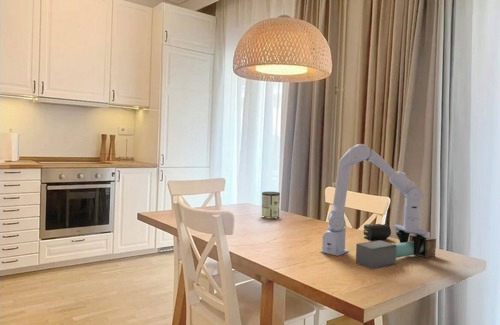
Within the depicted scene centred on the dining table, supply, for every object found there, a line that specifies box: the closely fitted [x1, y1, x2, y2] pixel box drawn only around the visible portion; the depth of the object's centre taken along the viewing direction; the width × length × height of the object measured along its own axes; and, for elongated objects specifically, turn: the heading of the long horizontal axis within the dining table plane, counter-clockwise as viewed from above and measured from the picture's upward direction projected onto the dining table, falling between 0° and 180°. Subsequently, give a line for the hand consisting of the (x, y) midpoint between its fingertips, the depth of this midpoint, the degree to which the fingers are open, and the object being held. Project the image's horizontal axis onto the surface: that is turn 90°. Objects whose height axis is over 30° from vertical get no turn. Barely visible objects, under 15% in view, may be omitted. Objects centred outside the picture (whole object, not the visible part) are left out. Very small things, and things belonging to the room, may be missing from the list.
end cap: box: [363, 223, 392, 241], centre depth 175 cm, size 10×7×7 cm
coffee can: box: [261, 191, 281, 219], centre depth 221 cm, size 10×10×14 cm
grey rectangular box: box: [355, 239, 397, 270], centre depth 139 cm, size 12×8×7 cm, turn 120°
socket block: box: [409, 234, 437, 259], centre depth 152 cm, size 5×8×7 cm, turn 30°
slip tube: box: [393, 240, 425, 259], centre depth 146 cm, size 24×5×5 cm, turn 120°
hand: (410, 252), depth 148 cm, fingers closed on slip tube, 5 cm apart
